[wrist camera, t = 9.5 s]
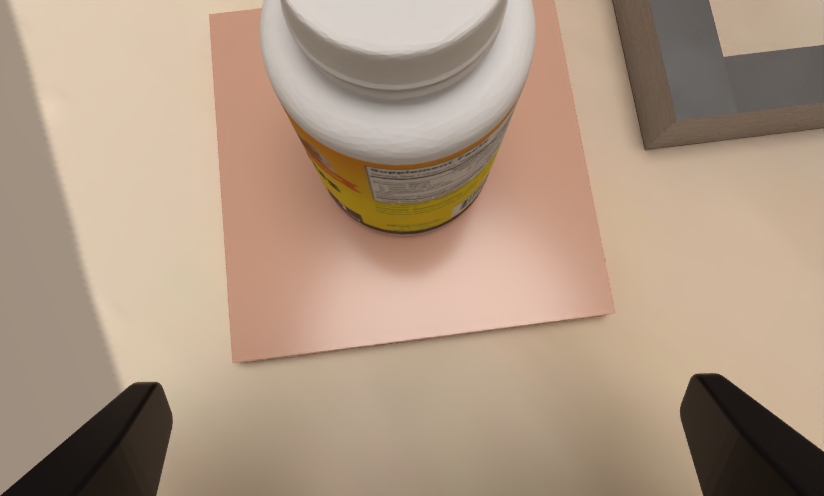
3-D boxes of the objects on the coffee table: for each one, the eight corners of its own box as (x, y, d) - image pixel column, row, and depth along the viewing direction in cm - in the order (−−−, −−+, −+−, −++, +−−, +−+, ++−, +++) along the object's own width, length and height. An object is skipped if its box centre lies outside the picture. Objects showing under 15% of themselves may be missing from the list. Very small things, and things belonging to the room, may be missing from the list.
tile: (605, 315, 19) (615, 313, 18) (241, 362, 19) (232, 362, 18) (542, -8, 22) (549, -25, 21) (218, 30, 21) (209, 14, 20)
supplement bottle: (312, 91, 20) (205, -188, 10) (474, 70, 20) (535, -227, 10) (330, 252, 19) (230, 125, 9) (501, 229, 19) (601, 77, 9)
